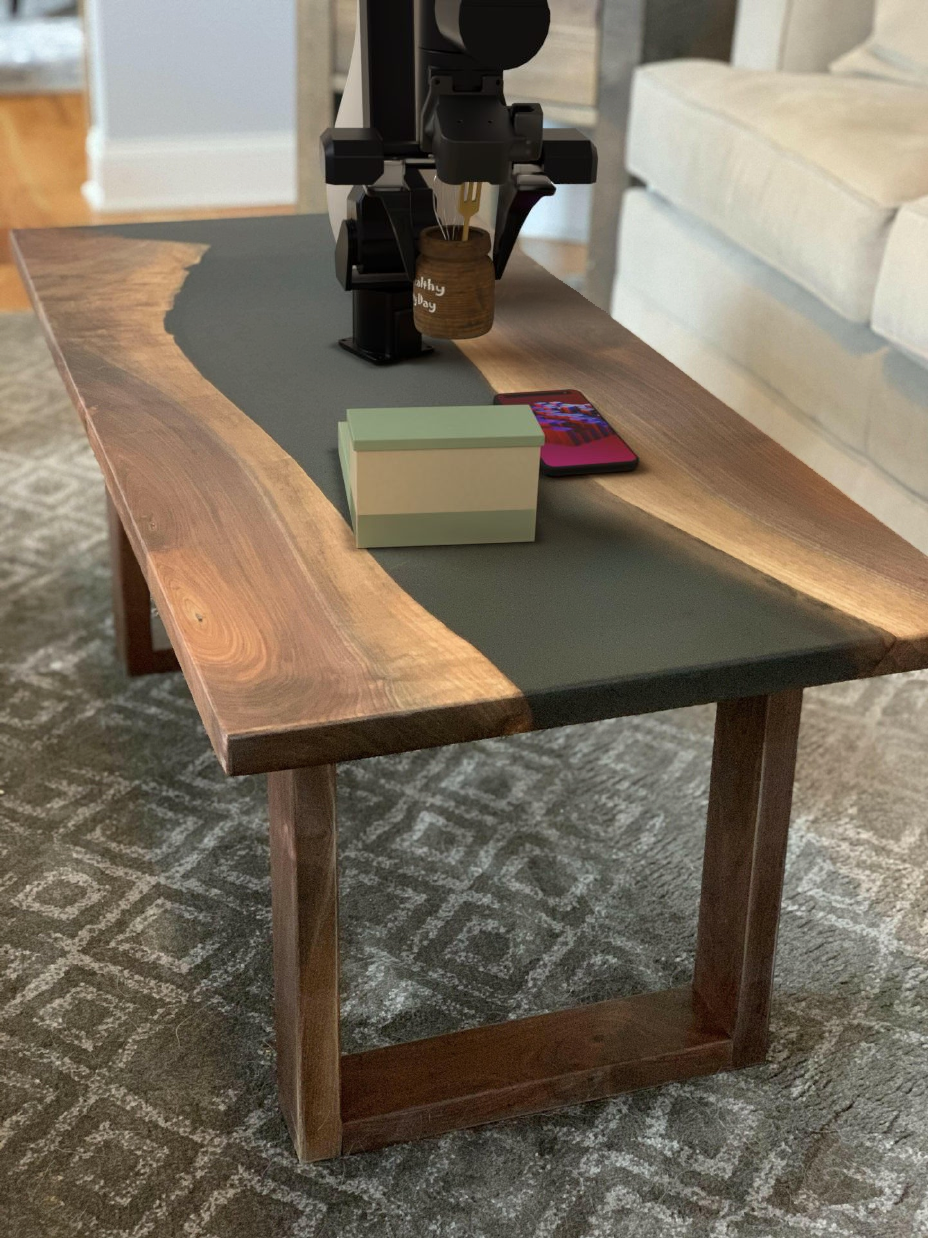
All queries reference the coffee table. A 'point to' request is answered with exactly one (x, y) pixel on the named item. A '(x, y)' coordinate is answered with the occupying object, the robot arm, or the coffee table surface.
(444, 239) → the utensil holder
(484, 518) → the beige rectangular box
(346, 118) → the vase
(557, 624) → the coffee table surface
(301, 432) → the coffee table surface
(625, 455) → the smartphone
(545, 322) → the coffee table surface
